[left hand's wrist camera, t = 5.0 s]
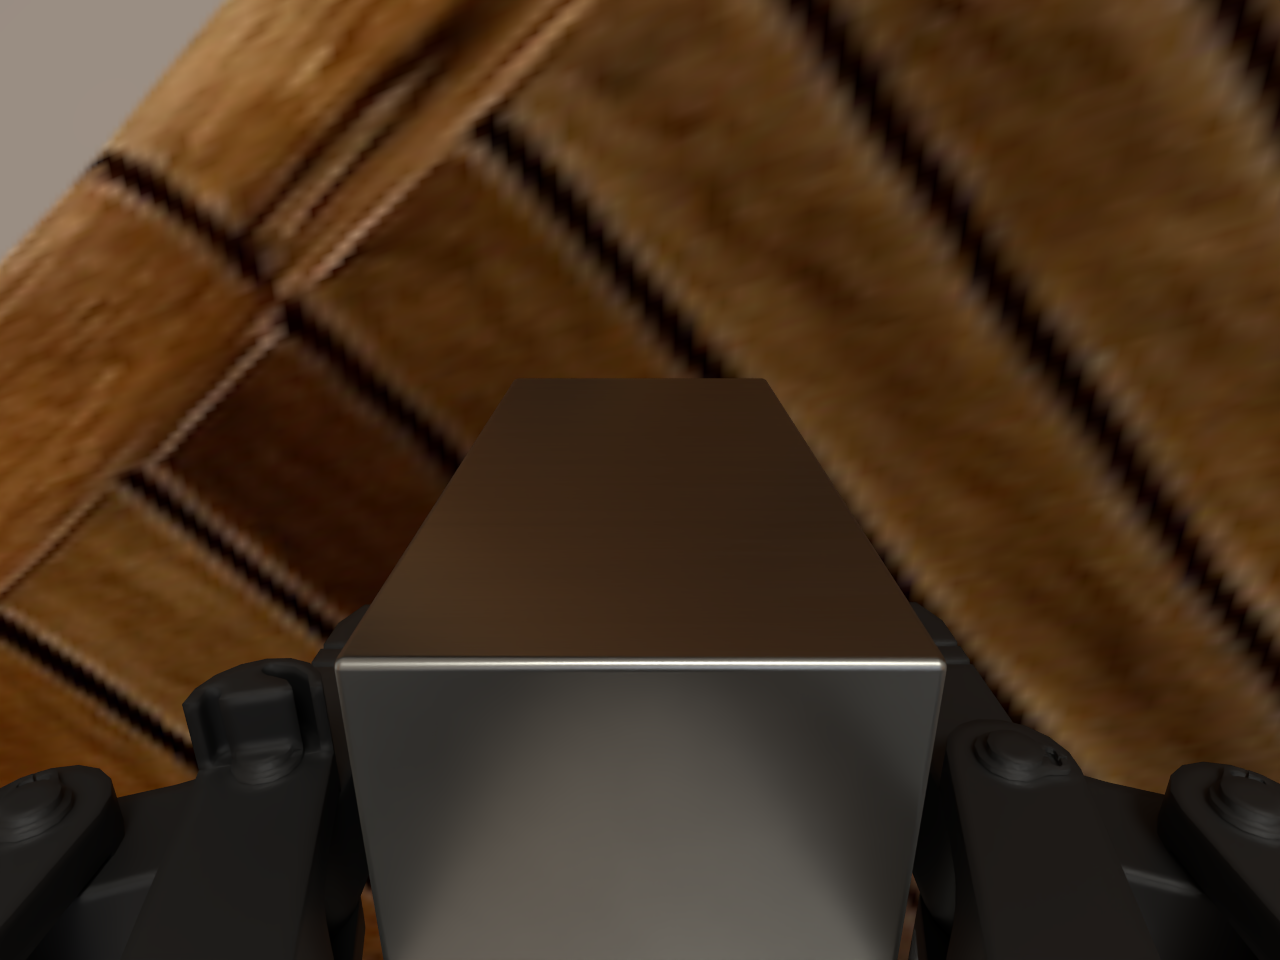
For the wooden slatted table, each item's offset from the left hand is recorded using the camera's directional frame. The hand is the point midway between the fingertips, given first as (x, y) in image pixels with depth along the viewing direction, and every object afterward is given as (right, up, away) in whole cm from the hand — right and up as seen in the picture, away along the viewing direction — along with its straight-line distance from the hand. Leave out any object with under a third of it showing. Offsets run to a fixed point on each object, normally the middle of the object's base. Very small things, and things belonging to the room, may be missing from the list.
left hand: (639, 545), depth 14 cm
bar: (0, -9, +4) cm, 10 cm away
